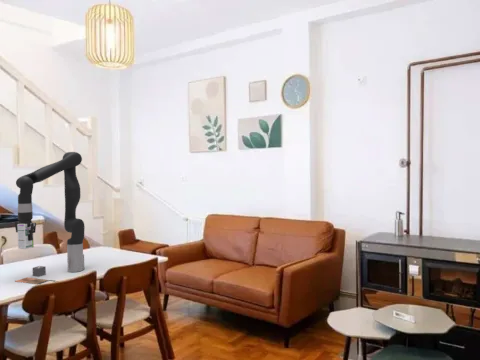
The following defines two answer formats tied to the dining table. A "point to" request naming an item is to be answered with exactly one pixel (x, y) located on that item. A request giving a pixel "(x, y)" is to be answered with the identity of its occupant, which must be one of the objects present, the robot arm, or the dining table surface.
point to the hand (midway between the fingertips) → (25, 240)
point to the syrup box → (24, 237)
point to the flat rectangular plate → (32, 280)
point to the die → (39, 271)
